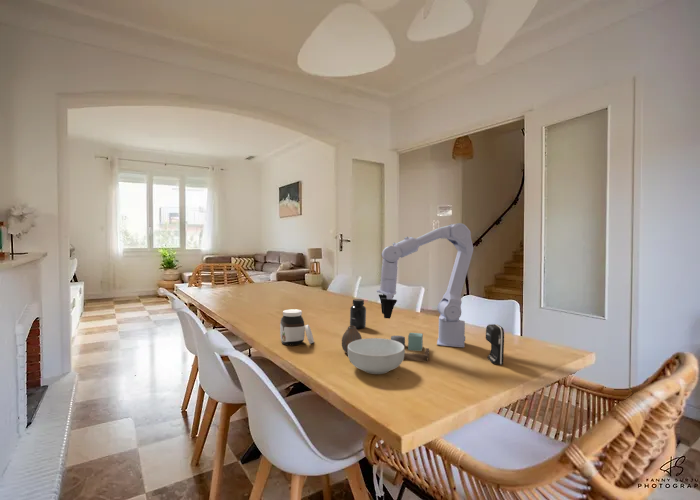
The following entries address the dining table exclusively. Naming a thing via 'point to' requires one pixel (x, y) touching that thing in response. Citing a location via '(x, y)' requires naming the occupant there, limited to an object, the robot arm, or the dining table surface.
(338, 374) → the dining table surface
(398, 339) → the puck
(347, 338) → the vase
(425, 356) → the brown angular piece
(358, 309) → the supplement bottle
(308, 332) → the spread jar
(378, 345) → the cereal bowl
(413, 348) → the block
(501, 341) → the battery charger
